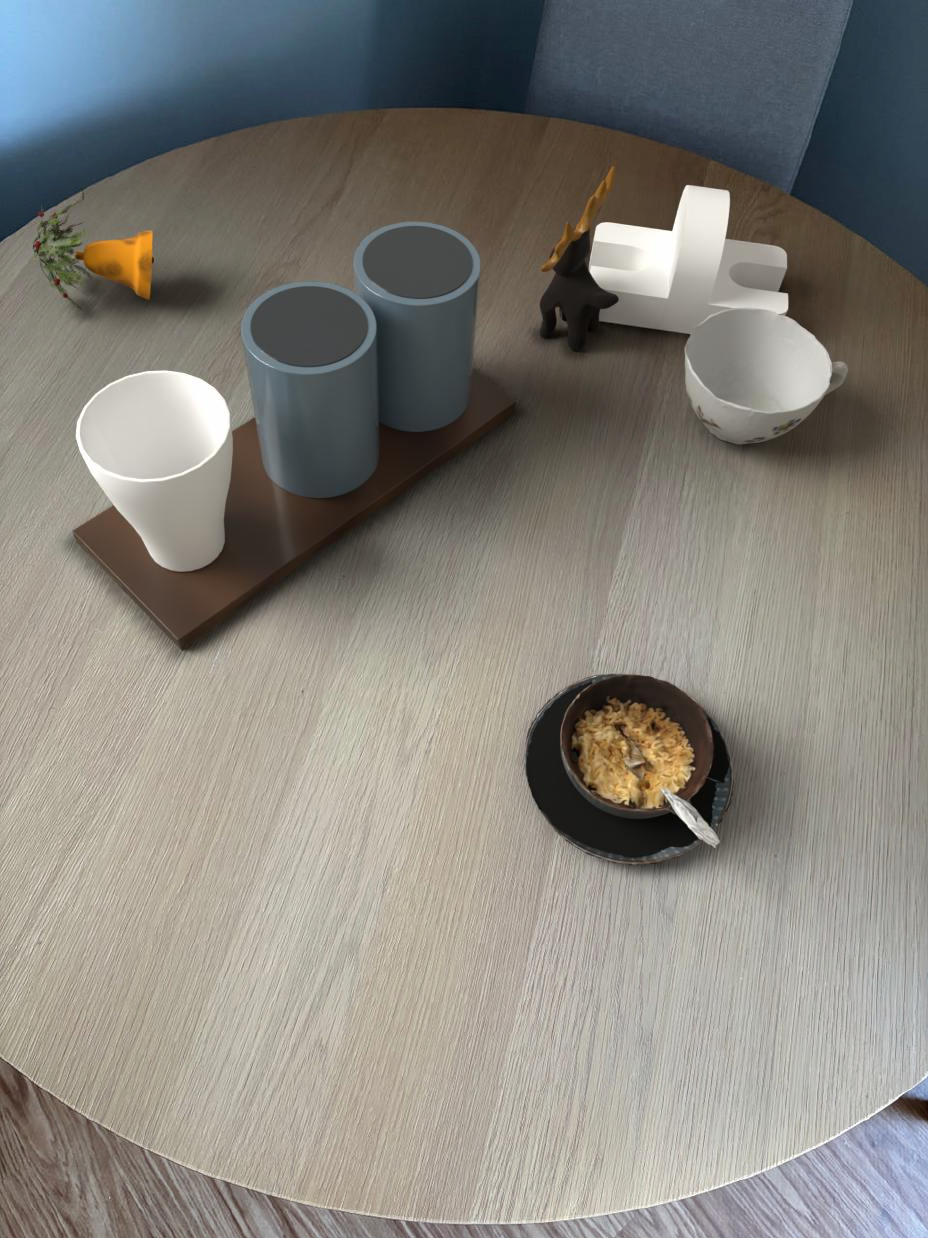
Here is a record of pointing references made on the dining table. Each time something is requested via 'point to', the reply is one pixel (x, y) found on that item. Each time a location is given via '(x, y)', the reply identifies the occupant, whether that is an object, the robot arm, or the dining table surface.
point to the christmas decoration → (96, 257)
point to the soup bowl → (629, 768)
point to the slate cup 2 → (421, 320)
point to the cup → (163, 461)
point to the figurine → (576, 279)
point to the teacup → (756, 374)
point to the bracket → (685, 268)
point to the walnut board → (275, 521)
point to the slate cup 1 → (314, 387)
